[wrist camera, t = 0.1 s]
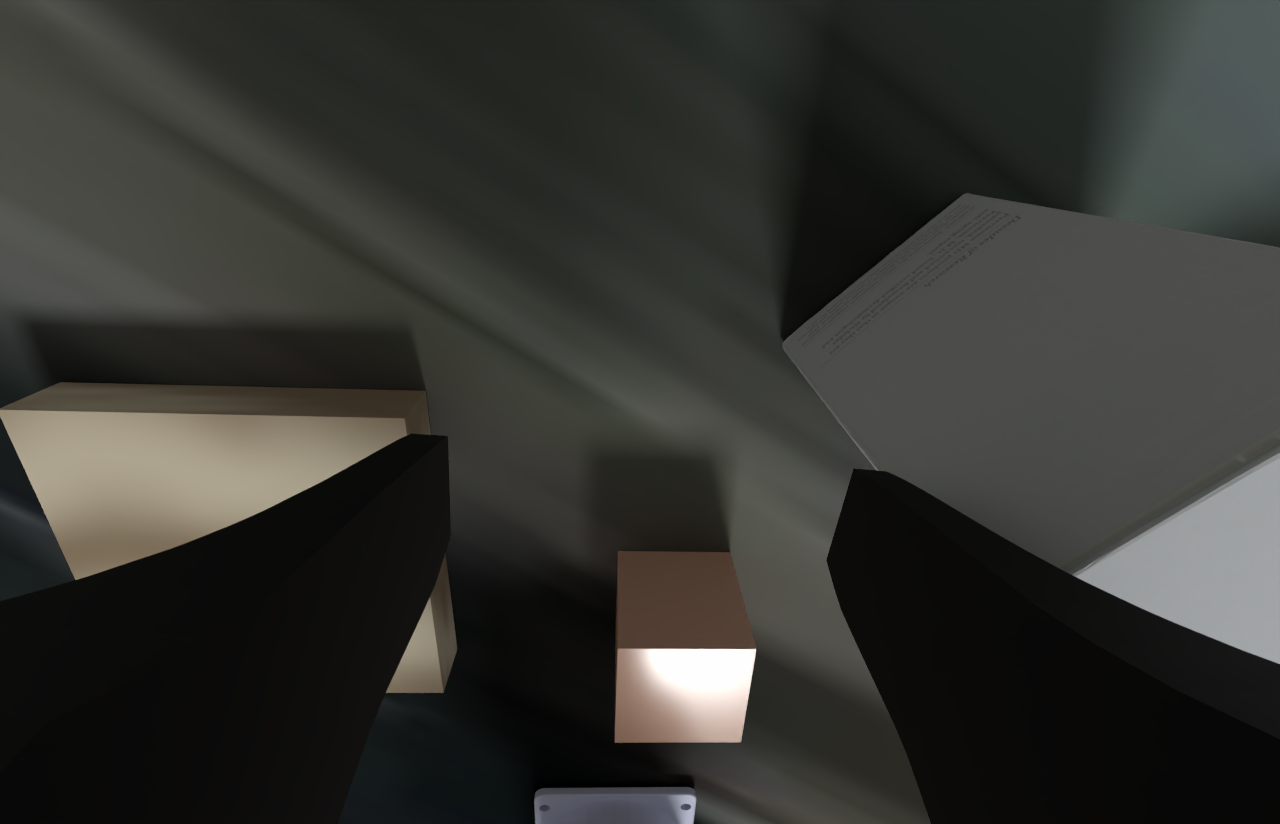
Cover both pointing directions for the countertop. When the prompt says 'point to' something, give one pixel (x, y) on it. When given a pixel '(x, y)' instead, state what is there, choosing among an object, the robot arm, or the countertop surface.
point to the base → (208, 472)
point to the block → (680, 648)
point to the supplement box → (1078, 399)
